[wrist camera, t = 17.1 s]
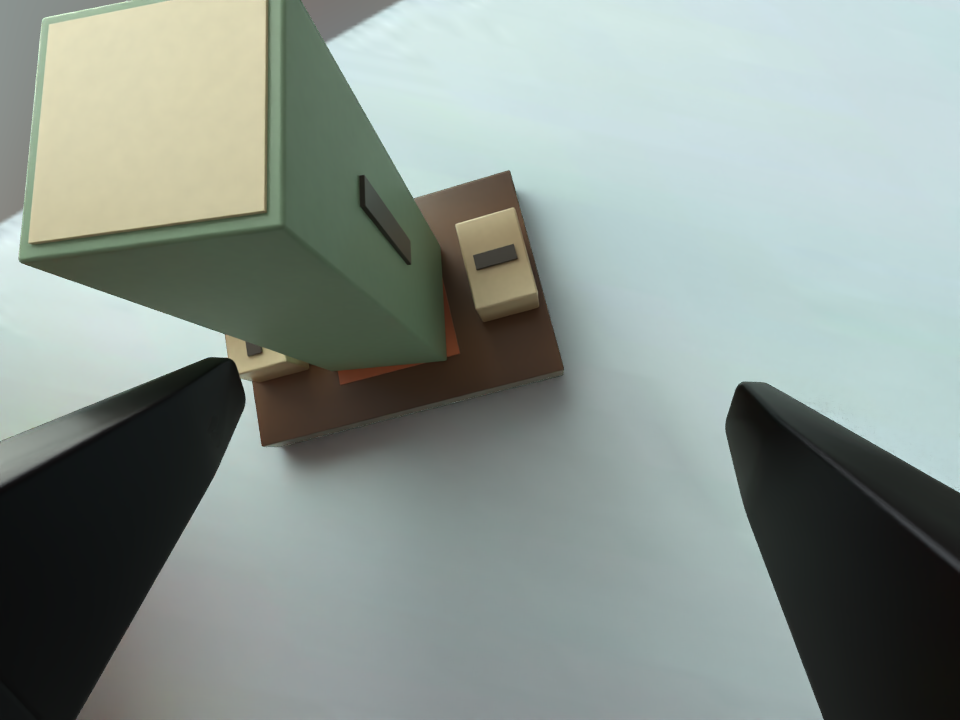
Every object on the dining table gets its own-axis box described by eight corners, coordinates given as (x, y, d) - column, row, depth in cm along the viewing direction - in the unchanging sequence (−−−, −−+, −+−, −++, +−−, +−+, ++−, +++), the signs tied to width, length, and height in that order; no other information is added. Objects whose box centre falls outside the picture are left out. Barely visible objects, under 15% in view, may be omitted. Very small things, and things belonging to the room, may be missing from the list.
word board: (563, 375, 22) (565, 360, 18) (279, 447, 23) (230, 446, 20) (512, 186, 24) (505, 140, 20) (251, 263, 25) (201, 232, 21)
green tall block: (450, 360, 21) (289, 224, 8) (330, 371, 22) (10, 261, 9) (443, 245, 22) (289, -38, 9) (329, 259, 23) (36, 13, 10)
